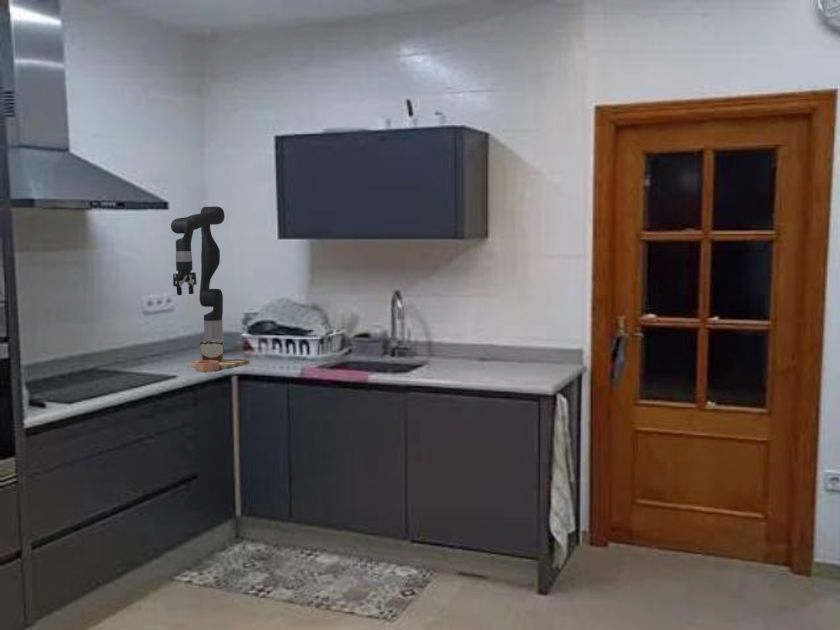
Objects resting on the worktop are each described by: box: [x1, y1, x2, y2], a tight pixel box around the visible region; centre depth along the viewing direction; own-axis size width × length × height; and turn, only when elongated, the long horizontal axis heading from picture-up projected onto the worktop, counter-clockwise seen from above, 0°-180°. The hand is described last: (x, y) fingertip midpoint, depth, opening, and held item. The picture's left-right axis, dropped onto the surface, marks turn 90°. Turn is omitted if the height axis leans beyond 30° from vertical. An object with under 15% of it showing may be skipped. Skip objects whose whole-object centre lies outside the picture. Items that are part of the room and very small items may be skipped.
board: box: [186, 358, 250, 370], centre depth 381 cm, size 18×22×2 cm
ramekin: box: [194, 360, 219, 373], centre depth 366 cm, size 10×10×4 cm
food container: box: [198, 339, 226, 362], centre depth 382 cm, size 12×6×10 cm, turn 84°
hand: (185, 294), depth 392 cm, fingers open, 8 cm apart
